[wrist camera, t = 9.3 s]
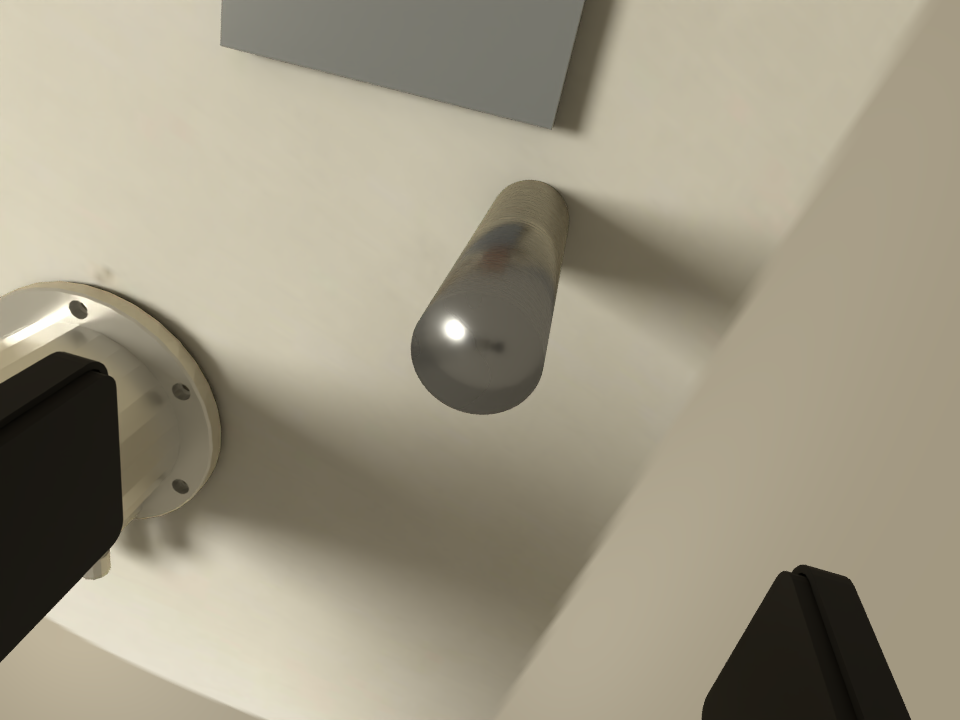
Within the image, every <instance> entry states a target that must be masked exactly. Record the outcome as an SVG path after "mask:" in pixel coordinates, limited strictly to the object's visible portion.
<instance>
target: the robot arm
mask: <svg viewBox="0 0 960 720" xmlns="http://www.w3.org/2000/svg"><path fill="white" fill-rule="evenodd" d="M220 447H221V425H220V419H219V413H218V407H217V405H216V402H215V399H214V397H213V394H212V391H211V389H210V386H209V384H208V382H207V380H206V379H205V377H204V375H203V373H202V372H201V370H200V368H199V366H198V365H197V363H196V361H195V360H194V359H193V358H192V356H191V355H190V354H189V353H188V351H187V350H186V349H185V348H184V346H183V345H182V344H181V343H180V341H179V340H178V339H177V338H176V337H174V336H173V335H172V334H171V333H170V332H169V331H168V330H167V329H166V328H165V327H164V326H163V325H162V324H161V323H160V322H159V321H157V320H156V319H154V318H153V317H151V316H150V315H149V314H147V313H146V312H144V311H143V310H141V309H140V308H139V307H137V306H136V305H134V304H132V303H130V302H128V301H126V300H124V299H122V298H120V297H118V296H116V295H114V294H112V293H110V292H107V291H104V290H101V289H98V288H94V287H91V286H88V285H85V284H78V283H71V282H63V281H54V282H39V283H34V284H31V285H28V286H25V287H21V288H18V289H16V290H14V291H12V292H10V293H7V294H5V295H3V296H1V297H0V662H1V661H2V660H3V659H4V658H5V657H6V656H7V655H8V654H9V653H10V652H11V651H12V650H13V649H14V648H15V647H16V646H17V644H18V643H19V642H20V641H21V640H22V639H23V638H24V637H25V636H26V635H27V634H28V633H29V632H30V631H31V630H32V629H33V628H34V627H35V626H36V625H37V624H38V623H39V622H40V620H42V619H43V617H44V616H45V615H46V614H47V613H48V612H49V611H50V610H51V609H52V608H53V607H54V606H55V605H56V604H57V603H58V602H59V601H60V600H61V599H62V598H63V597H64V596H65V595H66V594H67V593H68V591H69V590H70V589H71V588H72V587H73V586H74V585H75V584H76V583H77V582H78V581H79V580H80V579H81V578H82V577H84V578H85V579H91V580H95V579H98V578H102V577H103V576H105V575H106V574H107V573H108V572H109V570H110V568H111V563H110V548H111V547H112V545H113V544H114V543H115V542H116V540H117V538H118V537H119V534H120V532H121V531H122V530H123V529H124V528H125V527H126V526H127V525H128V524H129V523H130V522H131V521H132V520H133V519H146V518H152V517H157V516H162V515H164V514H167V513H169V512H171V511H174V510H176V509H178V508H180V507H181V506H182V505H184V504H185V503H186V502H188V501H189V500H191V499H192V498H193V497H194V496H195V494H196V493H197V492H198V491H199V490H200V489H201V488H202V487H203V485H204V484H205V483H206V482H207V480H208V479H209V477H210V475H211V474H212V472H213V470H214V469H215V466H216V463H217V459H218V456H219V452H220ZM702 720H911V718H910V716H909V713H908V711H907V709H906V707H905V704H904V702H903V699H902V697H901V695H900V692H899V690H898V688H897V685H896V683H895V680H894V678H893V676H892V673H891V671H890V669H889V666H888V664H887V662H886V659H885V657H884V655H883V652H882V650H881V648H880V645H879V643H878V641H877V638H876V636H875V633H874V631H873V629H872V626H871V624H870V622H869V619H868V617H867V615H866V612H865V610H864V608H863V605H862V603H861V601H860V598H859V596H858V594H857V591H856V589H855V586H854V585H853V583H852V582H851V580H850V579H848V578H847V577H845V576H842V575H839V574H835V573H832V572H828V571H825V570H821V569H818V568H814V567H811V566H807V565H799V566H797V567H796V568H795V569H794V570H793V571H792V573H791V572H788V571H783V572H781V573H780V574H779V575H778V576H777V577H776V579H775V581H774V582H773V584H772V586H771V588H770V589H769V591H768V593H767V594H766V596H765V598H764V600H763V601H762V603H761V605H760V606H759V608H758V610H757V611H756V613H755V615H754V616H753V618H752V620H751V622H750V623H749V625H748V627H747V629H746V630H745V632H744V633H743V635H742V637H741V639H740V640H739V642H738V644H737V645H736V647H735V649H734V650H733V652H732V654H731V656H730V657H729V659H728V661H727V662H726V664H725V666H724V668H723V669H722V671H721V673H720V674H719V676H718V678H717V680H716V682H715V683H714V684H713V686H712V688H711V690H710V691H709V693H708V695H707V697H706V699H705V702H704V705H703V711H702Z"/></svg>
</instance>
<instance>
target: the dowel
mask: <svg viewBox="0 0 960 720" xmlns="http://www.w3.org/2000/svg"><path fill="white" fill-rule="evenodd" d="M568 227H569V212H568V208H567V205H566V203H565V201H564V199H563V198H562V196H561V195H560V194H559V193H558V191H556V190H555V189H554V188H553V187H551V186H550V185H548V184H546V183H543V182H540V181H536V180H523V181H519V182H516V183H513V184H511V185H509V186H508V187H506V188H505V189H504V190H503V191H502V192H501V193H500V194H499V195H498V196H497V198H496V200H495V201H494V203H493V204H492V206H491V207H490V209H489V211H488V212H487V214H486V215H485V217H484V219H483V220H482V222H481V223H480V225H479V226H478V228H477V230H476V231H475V233H474V234H473V236H472V237H471V239H470V241H469V242H468V244H467V245H466V247H465V249H464V250H463V252H462V253H461V255H460V256H459V258H458V260H457V261H456V263H455V264H454V266H453V268H452V269H451V271H450V272H449V274H448V275H447V277H446V279H445V280H444V282H443V283H442V285H441V286H440V288H439V290H438V291H437V293H436V294H435V296H434V298H433V299H432V301H431V302H430V304H429V305H428V307H427V309H426V310H425V312H424V313H423V315H422V317H421V318H420V320H419V321H418V323H417V325H416V327H415V330H414V332H413V336H412V342H411V356H412V362H413V365H414V368H415V371H416V373H417V375H418V377H419V379H420V381H421V382H422V384H423V385H424V386H425V388H426V389H427V390H428V391H429V392H430V393H431V394H432V395H433V396H434V397H435V398H437V399H438V400H439V401H441V402H442V403H444V404H446V405H447V406H449V407H451V408H453V409H456V410H459V411H462V412H466V413H470V414H479V415H485V414H495V413H500V412H504V411H506V410H509V409H511V408H513V407H515V406H517V405H519V404H520V403H521V402H523V401H524V400H525V399H526V398H527V397H528V396H529V395H530V394H531V393H532V392H533V390H534V389H535V388H536V386H537V384H538V382H539V380H540V378H541V375H542V371H543V367H544V361H545V355H546V350H547V344H548V339H549V333H550V328H551V322H552V316H553V311H554V305H555V300H556V294H557V289H558V283H559V277H560V272H561V266H562V261H563V255H564V249H565V244H566V238H567V233H568Z"/></svg>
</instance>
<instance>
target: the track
mask: <svg viewBox="0 0 960 720" xmlns="http://www.w3.org/2000/svg"><path fill="white" fill-rule="evenodd" d="M585 1H586V0H222V8H221V40H220V46H223V47H227V48H231V49H235V50H239V51H243V52H247V53H251V54H255V55H259V56H263V57H267V58H271V59H275V60H279V61H283V62H287V63H291V64H294V65H298V66H302V67H306V68H310V69H314V70H318V71H322V72H326V73H330V74H334V75H338V76H342V77H346V78H350V79H354V80H358V81H362V82H365V83H369V84H373V85H377V86H381V87H385V88H389V89H393V90H397V91H401V92H405V93H409V94H413V95H417V96H421V97H425V98H429V99H433V100H436V101H440V102H444V103H448V104H452V105H456V106H460V107H464V108H468V109H472V110H476V111H480V112H484V113H488V114H492V115H496V116H500V117H504V118H507V119H511V120H515V121H519V122H523V123H527V124H531V125H535V126H539V127H543V128H547V129H551V130H552V128H553V126H554V122H555V118H556V114H557V110H558V107H559V103H560V99H561V95H562V91H563V87H564V83H565V79H566V75H567V71H568V67H569V64H570V60H571V56H572V52H573V48H574V44H575V40H576V36H577V32H578V28H579V24H580V21H581V17H582V13H583V9H584V5H585Z"/></svg>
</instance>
